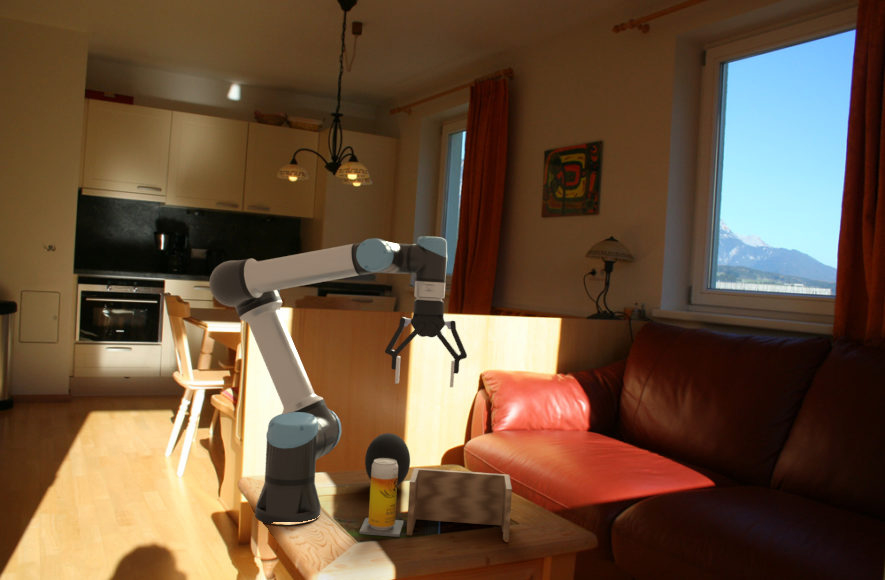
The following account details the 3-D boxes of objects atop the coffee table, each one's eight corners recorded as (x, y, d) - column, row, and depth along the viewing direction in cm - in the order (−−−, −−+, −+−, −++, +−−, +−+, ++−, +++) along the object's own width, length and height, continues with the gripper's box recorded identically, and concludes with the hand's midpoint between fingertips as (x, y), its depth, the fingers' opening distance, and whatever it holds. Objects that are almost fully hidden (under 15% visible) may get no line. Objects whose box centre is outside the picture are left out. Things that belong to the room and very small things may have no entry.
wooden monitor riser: (406, 534, 156) (409, 481, 155) (411, 517, 168) (414, 467, 167) (508, 542, 155) (511, 489, 154) (506, 524, 167) (509, 474, 166)
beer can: (390, 532, 155) (394, 465, 155) (364, 528, 156) (368, 462, 156) (397, 523, 161) (401, 459, 161) (372, 520, 162) (376, 456, 162)
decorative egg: (373, 496, 182) (376, 440, 182) (356, 483, 193) (360, 429, 192) (415, 492, 187) (419, 437, 187) (397, 480, 198) (400, 428, 198)
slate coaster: (359, 533, 155) (359, 531, 155) (365, 520, 164) (365, 517, 164) (399, 536, 154) (399, 534, 154) (403, 523, 163) (403, 520, 163)
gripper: (377, 296, 168) (372, 383, 168) (479, 302, 167) (474, 390, 167) (381, 296, 175) (376, 379, 176) (479, 302, 174) (474, 385, 174)
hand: (424, 384), depth 171 cm, fingers open, 13 cm apart
